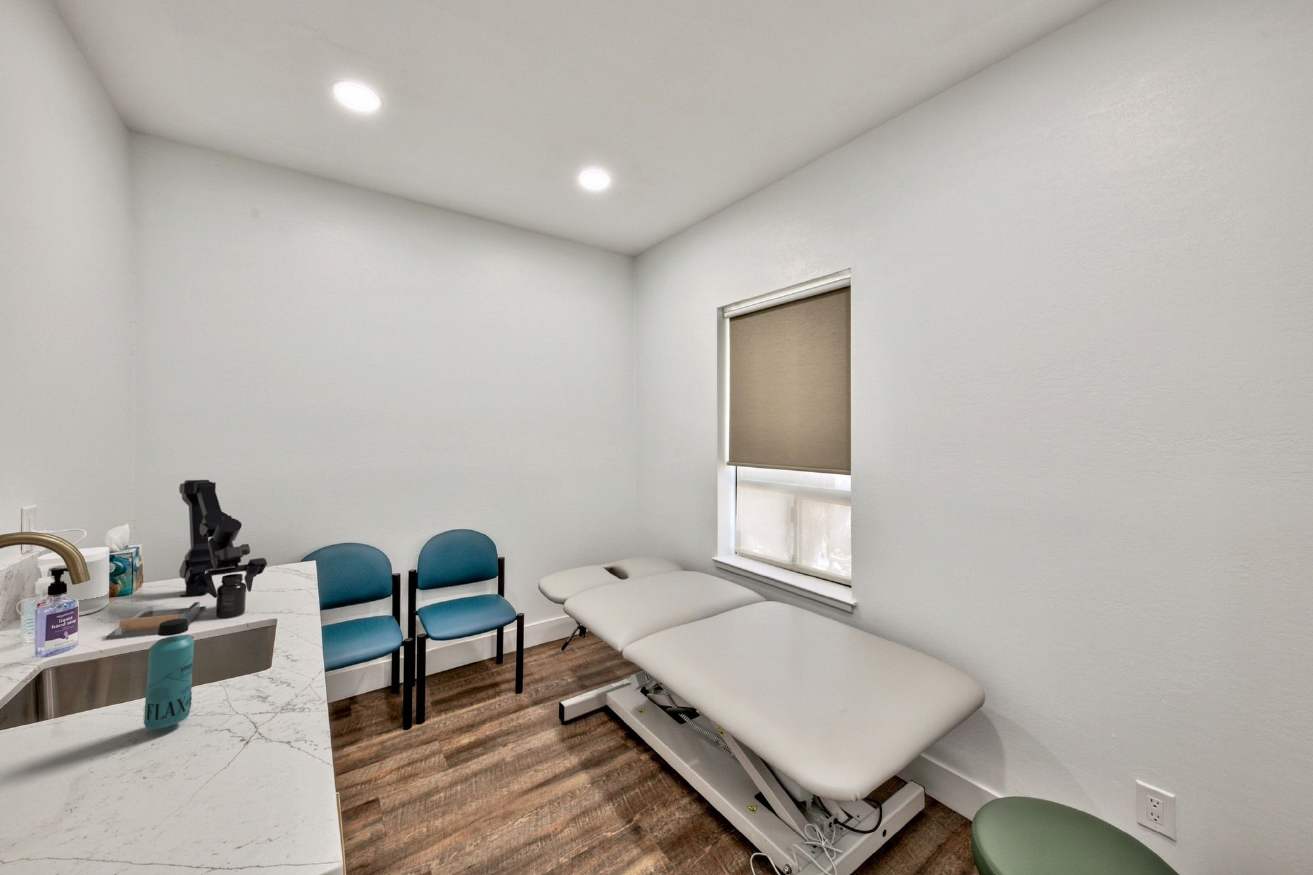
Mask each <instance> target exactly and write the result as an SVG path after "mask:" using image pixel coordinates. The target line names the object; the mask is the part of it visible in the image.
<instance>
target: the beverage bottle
mask: <svg viewBox="0 0 1313 875" xmlns="http://www.w3.org/2000/svg"><path fill="white" fill-rule="evenodd" d="M188 630H189V626H188V620H187V619H172V620H168V621H164V622H162V623H160V625H159V631H158V634H157V635H158V637H160V636H161V637H163V638H161V639H159V640H157V641H156V642H155V643H153V644H152V645H151V646H150V647H149V648H148V654H149V655H148V666H147V682H146V683H147V684H146V688H145V690H144V691H145V698H144V712H143V715H142V716H143V719H142V721H143V725H144V727H145V728H146V729H149V730H150V729H151V730H153V729H162V728H163V729H164V728H167V727H171V726H174V725H177V724H178V723H180V722H181V723H182V721H185V720H186V719H187V718H188V717H189V715H190V713H191V708H192V702H193V701H192V700H193V697H192V694H193V688H192V687H193V672H194V670H195V669H194V666H195V663H194V659H195V657H194V650H195V649H194V647H195V639H194V638H192V637H190V636H188V635H185V634H184V633H185V632H187V631H188ZM183 634H184V635H183Z"/></svg>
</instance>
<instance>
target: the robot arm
mask: <svg viewBox="0 0 1313 875" xmlns="http://www.w3.org/2000/svg"><path fill="white" fill-rule="evenodd" d="M216 484H217V483H216V482H213V481H210V480H209V479H186V480H184V481H183V483H182V482H181V483H180V485H179V487H178V488H179V489H178V490H179V494H181V499H182V501H183V502H184V503H185V504H186V505H187V506H188V515H189V516H188V518H189V520H188V521H189V537H190V538H189V539H190V540H189V541H190V548H189V550H188V551H187V553H186V554H185V555H184V560H183V561H182V564H181V566H180V568H179V577H180V578H181V579H184V584H185V591H184V592H183V593H181V594H179V596H180V597H195V596H197V597H198V596H205V595H206V594H209V595H210V596H212V597H213V598H214V599H217V588H216V586H215V583H214V581H213V576H219V575H220V576H221V575H230V574H237V573H241V572H245V576H244V584H245V585H246V591H247V592H248V593H250V592H251V591H252V587H253V580H254V577H255V578H256V577H257V575H260V574H262V573H263V572H264V571H265V568H266V567H267V565H268V562H267V559H266V558H264V557H259V558H251V559H249V560H248V563H247V564H241V565H240V564H239V563H241V562H242V558H243V557H244V556H247V555H249V554H250V553H251V548H250V545H249V543H245V544H241V545H239V546H234V541H235V540H236V539H237V537H238V535H239V533H240V530H241V528H242V522H241V521H240V520H238V519H237V518H233V517H232V515H229V514H227V513H225V512H224V511H222V508H221V505H220V501H219V499H218V496H217V495H218V494H217V492H216V486H217V485H216Z"/></svg>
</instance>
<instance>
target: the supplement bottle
mask: <svg viewBox="0 0 1313 875" xmlns="http://www.w3.org/2000/svg"><path fill="white" fill-rule="evenodd" d="M220 583H221V585H219V586H218V587H217V588H216V592H217V597H216V603H215V604H216V605H215V606H216V607H215V617H216V618H218V619H230V618H236V617H239V616H242V615H243V614H245V612H246V599H247V598H246V597H247V587H246V583H245V582H243V573H229V574H224V575H223V576H222V577H221V582H220Z"/></svg>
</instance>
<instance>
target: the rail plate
mask: <svg viewBox="0 0 1313 875" xmlns="http://www.w3.org/2000/svg"><path fill="white" fill-rule="evenodd" d="M206 610H207V605H205V606H201V601H197V602H195V601H194V603H192V604H191V605H190V606H189V607H181V608H169V609H162V610H154V606H153V605H151V606H150V605H149V606H148V605H147V606H146V607H145V608H143V609H142V610H141V611H139V612H137V613H136V614H135V615H134V616H132V617H130V618H126V619H124V618H122V619H120V620H119V624H118V625H119V626H118V627H116V628H115V629H114V630H113V631H111V632H110V633H109V634H107V635H106V639H110V640H116V639H126V638H127V637H128V638H138V637H145V636H146V635H147V636H156V635H158V631H159V625H160V623H162V622H164V621H168V620H172V619H187V620H188V627H189V626H190V625H191V624H192V623H193V622H194V621H195V620H196V619H197V618H199V616H201V615H202V614H203V613H204V612H205V611H206ZM137 636H138V637H137Z"/></svg>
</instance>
